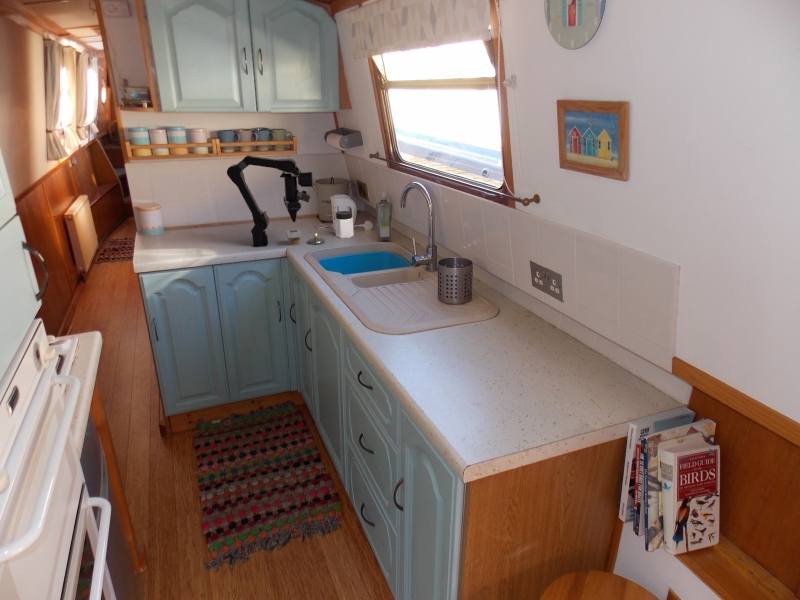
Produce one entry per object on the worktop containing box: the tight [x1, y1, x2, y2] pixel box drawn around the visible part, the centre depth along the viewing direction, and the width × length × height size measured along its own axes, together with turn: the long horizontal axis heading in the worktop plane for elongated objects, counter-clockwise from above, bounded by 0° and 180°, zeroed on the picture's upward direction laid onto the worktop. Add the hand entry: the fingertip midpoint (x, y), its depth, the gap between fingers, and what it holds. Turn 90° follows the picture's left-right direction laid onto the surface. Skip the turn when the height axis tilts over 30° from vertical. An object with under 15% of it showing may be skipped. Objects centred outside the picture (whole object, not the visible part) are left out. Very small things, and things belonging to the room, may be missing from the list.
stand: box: [287, 237, 301, 246], centre depth 271 cm, size 6×2×6 cm, turn 106°
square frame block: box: [285, 228, 302, 239], centre depth 270 cm, size 7×7×2 cm
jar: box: [334, 210, 354, 239], centre depth 283 cm, size 9×8×12 cm
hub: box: [307, 232, 326, 246], centre depth 273 cm, size 8×8×5 cm
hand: (293, 219), depth 268 cm, fingers open, 9 cm apart
